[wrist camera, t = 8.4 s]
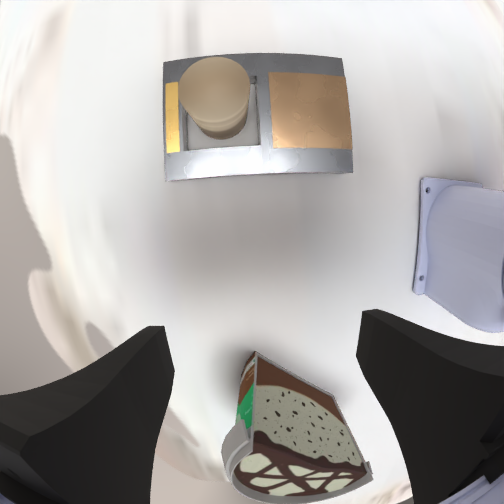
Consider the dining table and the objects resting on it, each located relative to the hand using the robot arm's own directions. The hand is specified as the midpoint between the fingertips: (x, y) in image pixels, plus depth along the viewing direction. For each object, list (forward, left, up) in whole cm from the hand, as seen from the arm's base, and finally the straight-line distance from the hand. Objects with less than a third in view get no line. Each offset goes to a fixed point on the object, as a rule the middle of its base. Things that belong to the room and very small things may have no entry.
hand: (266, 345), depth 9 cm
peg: (+10, +2, -10) cm, 14 cm away
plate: (+10, -1, -10) cm, 14 cm away
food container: (-12, -1, -10) cm, 16 cm away
